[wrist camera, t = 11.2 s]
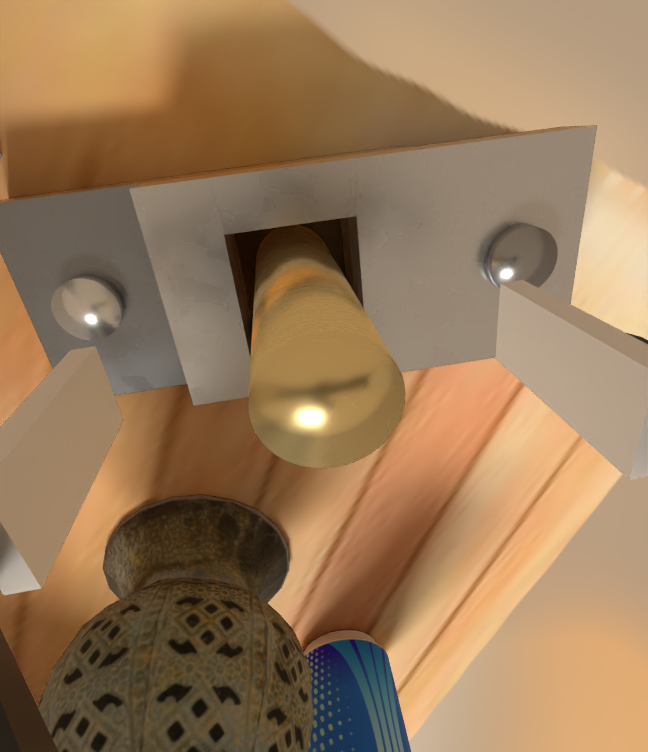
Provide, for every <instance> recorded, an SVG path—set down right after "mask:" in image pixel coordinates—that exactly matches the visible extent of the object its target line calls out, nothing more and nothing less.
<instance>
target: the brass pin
mask: <svg viewBox="0 0 648 752" xmlns="http://www.w3.org/2000/svg"><path fill="white" fill-rule="evenodd" d="M404 404H405V385H404V381H403V377H402V374H401V372H400V370H399V367H398V366H397V364H396V362H395V361H394V359H393V357H392V356H391V354H390V352H389V351H388V349H387V347H386V345H385V344H384V342H383V340H382V339H381V337H380V335H379V334H378V332H377V330H376V329H375V327H374V325H373V323H372V322H371V320H370V318H369V317H368V315H367V313H366V312H365V310H364V308H363V307H362V305H361V303H360V302H359V300H358V298H357V296H356V295H355V293H354V291H353V290H352V288H351V286H350V285H349V283H348V281H347V280H346V278H345V276H344V275H343V273H342V271H341V269H340V268H339V266H338V264H337V263H336V261H335V259H334V258H333V256H332V254H331V253H330V251H329V249H328V248H327V246H326V244H325V243H324V241H323V240H322V238H321V237H320V236H319V235H318V234H317V233H316V232H314V231H313V230H311V229H309V228H307V227H304V226H301V225H290V226H283V227H279V228H277V229H275V230H273V231H272V232H270V233H269V234H268V235H267V236H266V237H265V238H264V239H263V241H262V242H261V244H260V246H259V249H258V252H257V257H256V272H255V290H254V307H253V325H252V342H251V360H250V377H249V395H248V411H249V418H250V421H251V424H252V427H253V429H254V431H255V433H256V435H257V437H258V438H259V439H260V441H261V442H262V443H263V444H264V445H265V447H266V448H267V449H269V450H270V451H271V452H272V453H273V454H275V455H277V456H278V457H280V458H281V459H283V460H286V461H288V462H290V463H293V464H296V465H299V466H304V467H310V468H332V467H338V466H343V465H347V464H350V463H353V462H355V461H358V460H360V459H362V458H364V457H366V456H367V455H369V454H371V453H372V452H374V451H375V450H376V449H378V448H379V447H380V446H381V445H382V444H383V443H384V442H385V441H386V440H387V439H388V438H389V437H390V436H391V434H392V433H393V431H394V430H395V428H396V427H397V425H398V423H399V421H400V419H401V416H402V413H403V410H404Z"/></svg>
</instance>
